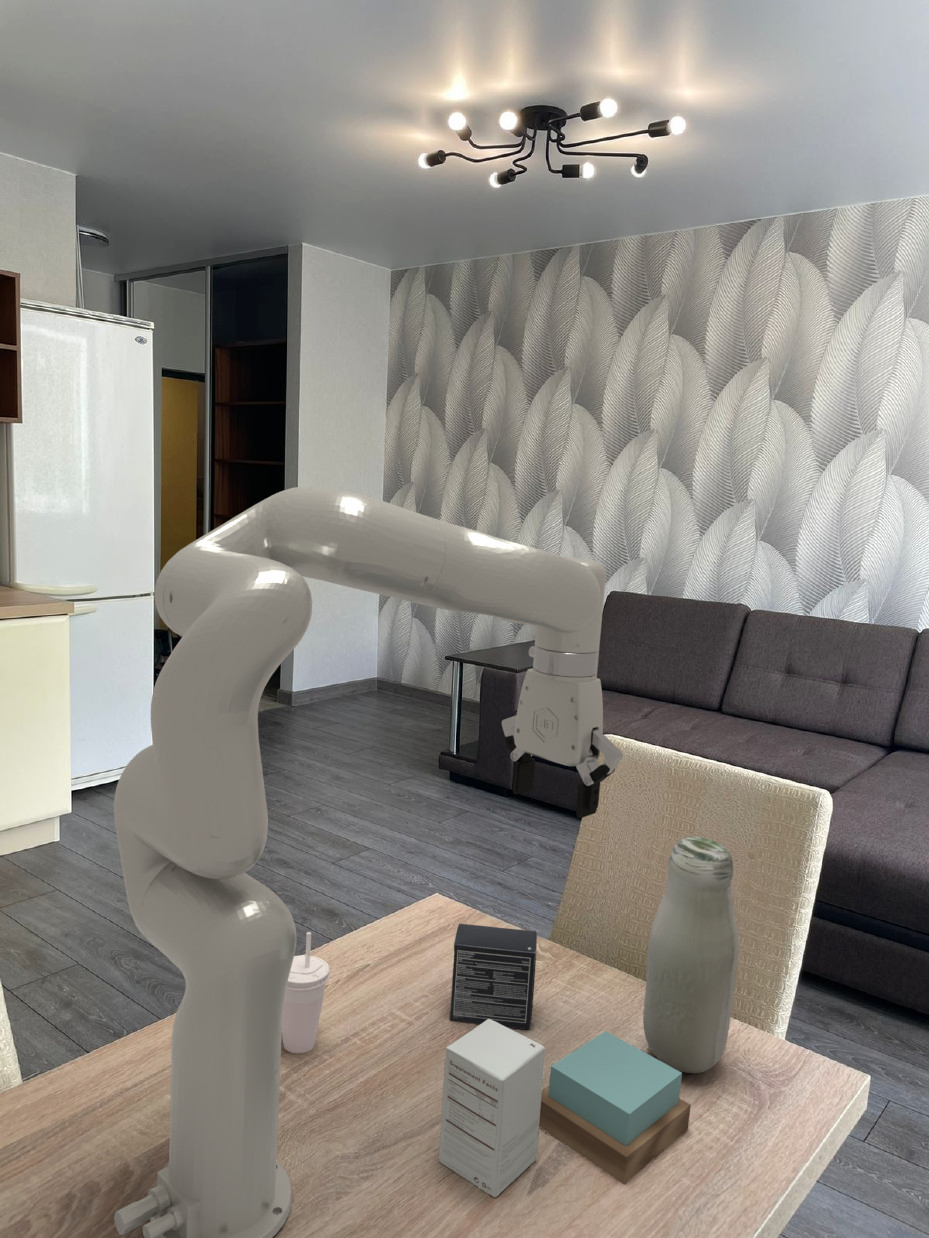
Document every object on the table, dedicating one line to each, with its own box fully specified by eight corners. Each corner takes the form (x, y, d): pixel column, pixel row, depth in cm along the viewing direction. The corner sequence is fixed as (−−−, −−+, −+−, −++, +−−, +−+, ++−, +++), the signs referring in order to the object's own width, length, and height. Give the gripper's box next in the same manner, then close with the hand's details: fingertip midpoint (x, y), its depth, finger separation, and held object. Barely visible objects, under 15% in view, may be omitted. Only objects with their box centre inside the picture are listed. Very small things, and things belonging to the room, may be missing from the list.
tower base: (623, 1189, 92) (626, 1157, 91) (530, 1125, 100) (533, 1095, 99) (687, 1134, 100) (690, 1104, 100) (597, 1079, 108) (600, 1051, 108)
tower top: (626, 1145, 93) (629, 1113, 92) (548, 1095, 99) (550, 1065, 99) (678, 1102, 100) (682, 1072, 99) (602, 1058, 107) (605, 1030, 106)
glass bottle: (734, 1057, 114) (759, 840, 110) (706, 1100, 105) (733, 866, 101) (658, 1027, 119) (679, 819, 115) (625, 1066, 110) (648, 842, 106)
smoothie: (331, 1055, 109) (337, 943, 107) (277, 1064, 106) (281, 950, 104) (319, 1024, 115) (324, 918, 113) (267, 1032, 112) (271, 924, 110)
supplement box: (481, 1125, 98) (489, 1015, 97) (538, 1160, 94) (548, 1045, 92) (435, 1161, 93) (443, 1045, 91) (494, 1201, 88) (503, 1079, 86)
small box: (532, 1003, 123) (539, 928, 121) (531, 1031, 116) (538, 953, 115) (453, 994, 124) (458, 920, 122) (447, 1021, 117) (453, 943, 116)
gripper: (489, 653, 112) (479, 789, 114) (607, 680, 100) (593, 831, 103) (529, 648, 117) (519, 778, 120) (645, 673, 105) (631, 817, 108)
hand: (553, 802), depth 111 cm, fingers open, 9 cm apart
